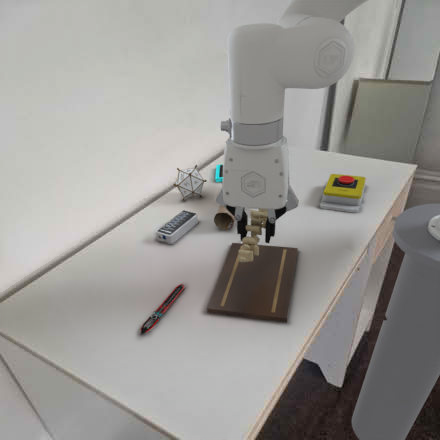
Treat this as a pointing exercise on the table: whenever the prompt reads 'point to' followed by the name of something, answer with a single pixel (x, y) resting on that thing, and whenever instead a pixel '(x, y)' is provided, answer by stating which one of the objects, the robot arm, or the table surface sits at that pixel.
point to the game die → (189, 182)
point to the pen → (161, 309)
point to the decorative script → (253, 235)
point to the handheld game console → (219, 173)
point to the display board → (256, 284)
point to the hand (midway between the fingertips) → (256, 237)
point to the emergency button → (343, 193)
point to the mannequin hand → (223, 218)
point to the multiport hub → (177, 227)
